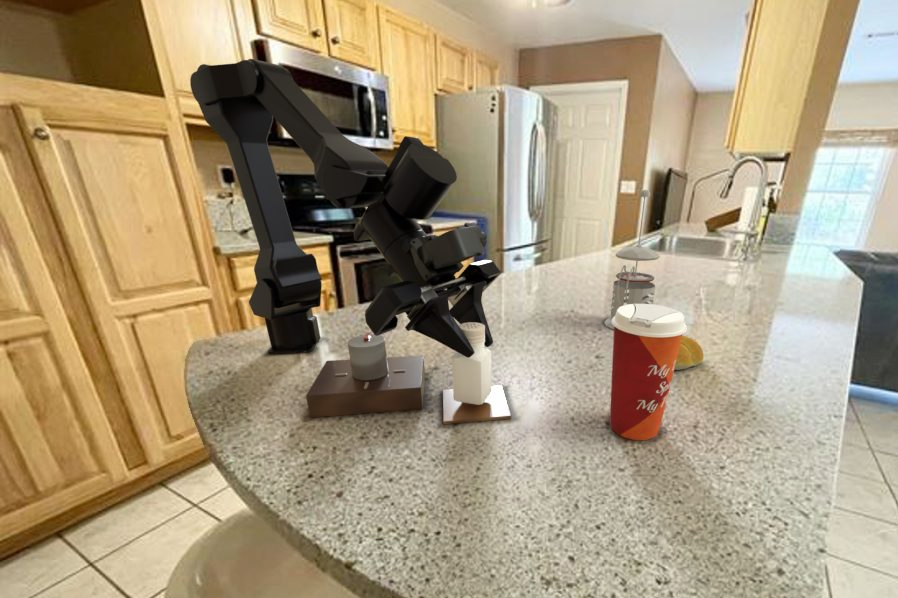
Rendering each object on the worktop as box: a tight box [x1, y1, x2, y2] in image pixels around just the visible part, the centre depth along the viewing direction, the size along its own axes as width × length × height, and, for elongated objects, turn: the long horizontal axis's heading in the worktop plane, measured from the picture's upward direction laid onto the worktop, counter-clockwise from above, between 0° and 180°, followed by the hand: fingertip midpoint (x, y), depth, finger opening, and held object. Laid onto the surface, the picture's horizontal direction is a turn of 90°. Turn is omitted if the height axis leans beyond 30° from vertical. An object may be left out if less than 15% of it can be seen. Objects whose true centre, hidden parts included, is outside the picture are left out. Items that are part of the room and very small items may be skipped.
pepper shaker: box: [451, 322, 492, 405], centre depth 51 cm, size 4×4×10 cm
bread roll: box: [674, 335, 704, 371], centre depth 67 cm, size 8×9×4 cm
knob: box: [346, 331, 388, 380], centre depth 53 cm, size 4×4×5 cm
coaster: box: [442, 385, 512, 425], centre depth 53 cm, size 8×8×1 cm
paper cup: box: [609, 303, 688, 441], centre depth 46 cm, size 8×8×14 cm
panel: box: [305, 354, 426, 419], centre depth 55 cm, size 13×10×3 cm
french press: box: [604, 189, 661, 330], centre depth 78 cm, size 10×12×25 cm
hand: (481, 350), depth 50 cm, fingers closed on pepper shaker, 3 cm apart
